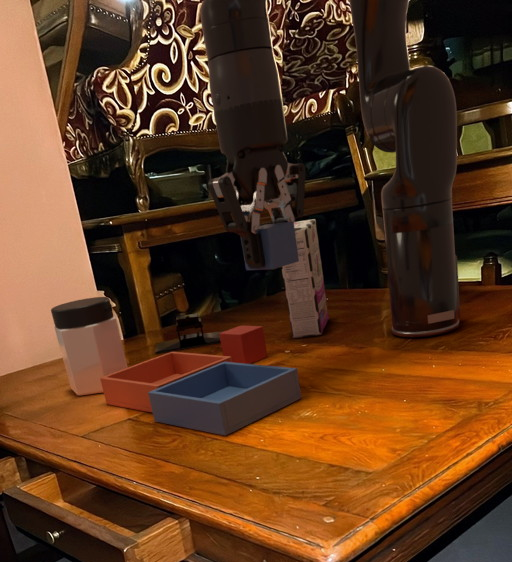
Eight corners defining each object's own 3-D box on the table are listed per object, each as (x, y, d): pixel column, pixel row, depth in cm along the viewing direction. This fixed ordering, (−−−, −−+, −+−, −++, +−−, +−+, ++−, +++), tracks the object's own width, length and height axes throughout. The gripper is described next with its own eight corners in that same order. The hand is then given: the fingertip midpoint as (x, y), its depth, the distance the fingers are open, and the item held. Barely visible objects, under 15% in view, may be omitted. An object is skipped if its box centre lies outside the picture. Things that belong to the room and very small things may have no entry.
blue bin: (229, 388, 88) (224, 361, 87) (301, 398, 80) (297, 368, 78) (154, 421, 80) (147, 392, 79) (225, 436, 72) (219, 403, 71)
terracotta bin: (177, 376, 98) (172, 351, 97) (236, 383, 90) (231, 356, 88) (106, 404, 91) (99, 377, 89) (163, 414, 82) (157, 386, 81)
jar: (136, 384, 98) (117, 299, 93) (80, 399, 95) (57, 313, 90) (120, 373, 105) (101, 294, 101) (67, 387, 102) (45, 306, 98)
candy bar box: (300, 323, 118) (286, 223, 112) (329, 319, 117) (317, 218, 110) (290, 339, 108) (274, 230, 102) (322, 335, 107) (307, 225, 100)
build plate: (155, 354, 114) (149, 327, 112) (157, 345, 121) (151, 319, 119) (229, 340, 114) (224, 312, 112) (227, 332, 121) (222, 305, 119)
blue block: (271, 262, 84) (265, 224, 83) (299, 261, 81) (293, 221, 80) (245, 270, 82) (239, 231, 80) (273, 269, 78) (267, 228, 77)
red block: (246, 355, 103) (241, 325, 101) (267, 356, 100) (262, 326, 98) (224, 363, 100) (218, 333, 99) (246, 365, 97) (240, 334, 96)
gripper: (223, 100, 68) (252, 276, 74) (316, 92, 77) (334, 250, 83) (175, 114, 73) (206, 277, 79) (267, 105, 82) (288, 253, 88)
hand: (272, 262), depth 81 cm, fingers closed on blue block, 4 cm apart
